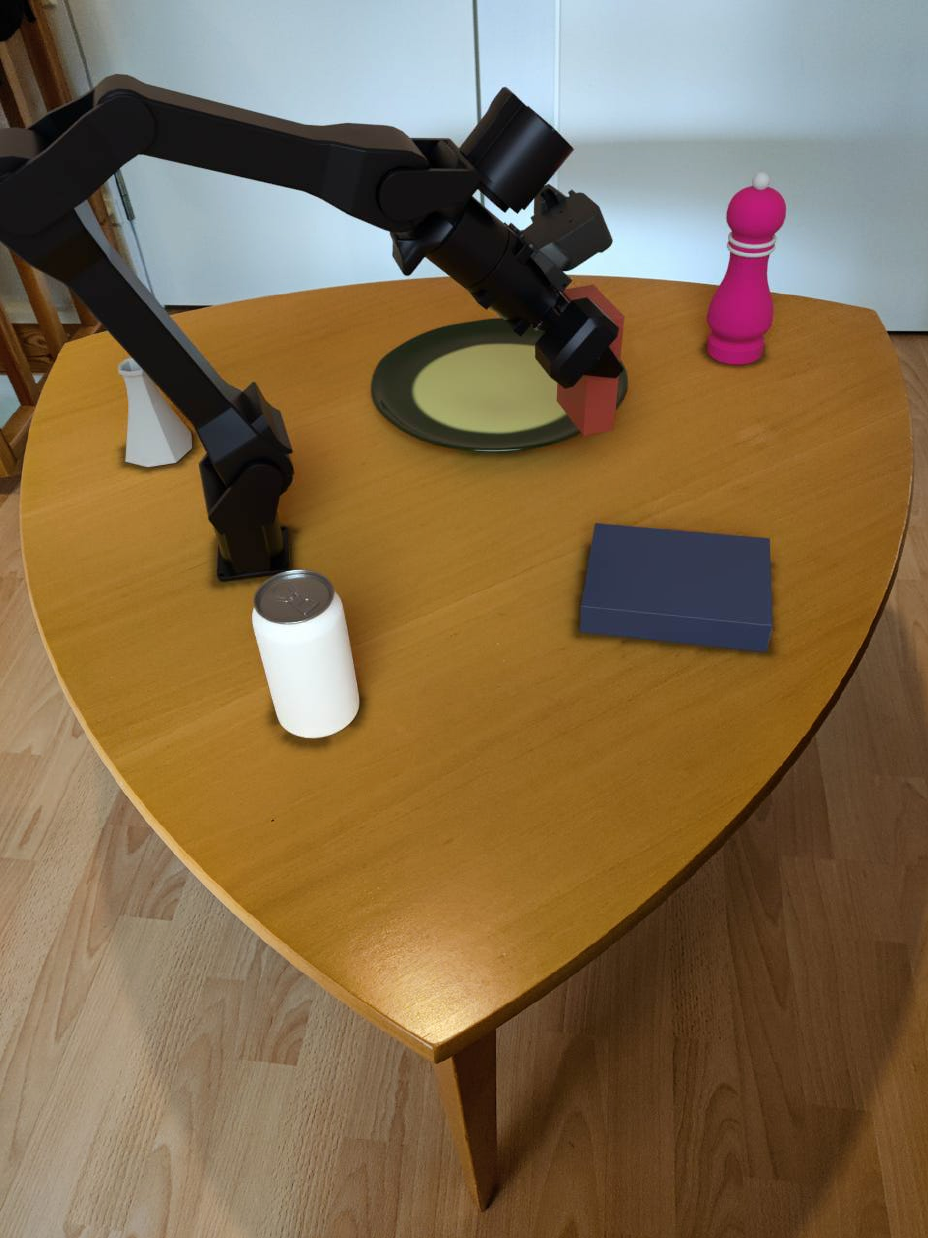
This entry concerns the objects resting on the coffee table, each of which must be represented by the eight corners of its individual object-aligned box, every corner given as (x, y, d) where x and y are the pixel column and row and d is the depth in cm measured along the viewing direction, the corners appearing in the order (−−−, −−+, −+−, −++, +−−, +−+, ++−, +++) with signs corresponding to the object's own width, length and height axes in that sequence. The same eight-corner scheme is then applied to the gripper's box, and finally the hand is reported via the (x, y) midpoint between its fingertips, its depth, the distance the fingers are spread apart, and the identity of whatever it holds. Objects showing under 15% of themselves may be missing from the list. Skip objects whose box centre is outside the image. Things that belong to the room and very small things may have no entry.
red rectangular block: (583, 436, 90) (591, 321, 82) (556, 400, 94) (561, 289, 87) (614, 429, 90) (624, 315, 83) (585, 394, 95) (593, 283, 87)
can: (319, 667, 81) (295, 553, 73) (377, 703, 78) (359, 588, 69) (260, 715, 77) (227, 601, 69) (318, 755, 74) (291, 641, 66)
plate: (337, 454, 103) (334, 434, 101) (411, 327, 122) (409, 308, 121) (608, 482, 97) (609, 461, 96) (640, 344, 117) (642, 324, 115)
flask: (202, 431, 107) (180, 346, 101) (182, 470, 102) (157, 383, 95) (138, 430, 108) (111, 345, 101) (114, 468, 103) (85, 382, 96)
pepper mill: (689, 345, 116) (711, 167, 102) (741, 331, 118) (769, 154, 104) (726, 373, 111) (755, 190, 97) (779, 357, 113) (814, 176, 99)
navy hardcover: (579, 632, 82) (580, 606, 80) (593, 548, 90) (594, 522, 88) (767, 652, 80) (773, 625, 78) (764, 564, 88) (770, 537, 86)
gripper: (601, 212, 69) (721, 330, 79) (509, 132, 82) (622, 241, 92) (496, 338, 73) (623, 435, 83) (424, 242, 86) (541, 335, 96)
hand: (603, 355), depth 89 cm, fingers closed on red rectangular block, 6 cm apart
